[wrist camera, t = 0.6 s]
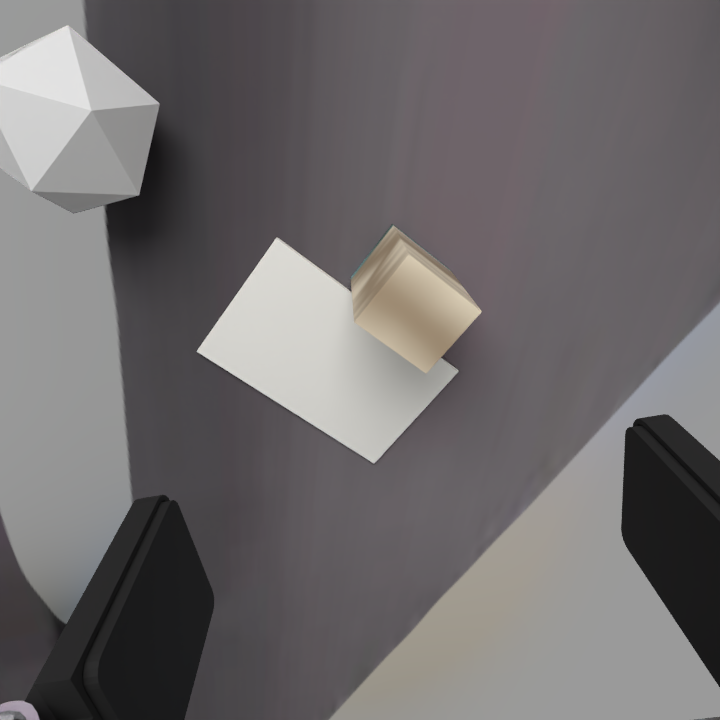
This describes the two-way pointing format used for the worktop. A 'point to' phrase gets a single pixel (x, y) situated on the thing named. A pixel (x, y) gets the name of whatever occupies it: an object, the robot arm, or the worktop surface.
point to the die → (73, 123)
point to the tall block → (410, 300)
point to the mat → (319, 355)
